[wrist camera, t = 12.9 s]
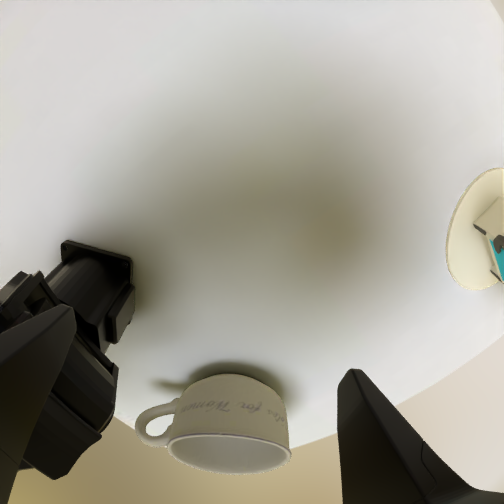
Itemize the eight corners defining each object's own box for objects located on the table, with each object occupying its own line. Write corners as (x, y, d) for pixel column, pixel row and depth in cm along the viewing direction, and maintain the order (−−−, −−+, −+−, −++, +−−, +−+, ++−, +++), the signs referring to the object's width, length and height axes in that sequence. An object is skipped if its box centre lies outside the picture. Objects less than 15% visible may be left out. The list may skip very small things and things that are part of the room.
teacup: (304, 372, 26) (313, 445, 19) (265, 425, 30) (265, 484, 23) (155, 334, 24) (128, 408, 17) (148, 397, 29) (130, 456, 22)
